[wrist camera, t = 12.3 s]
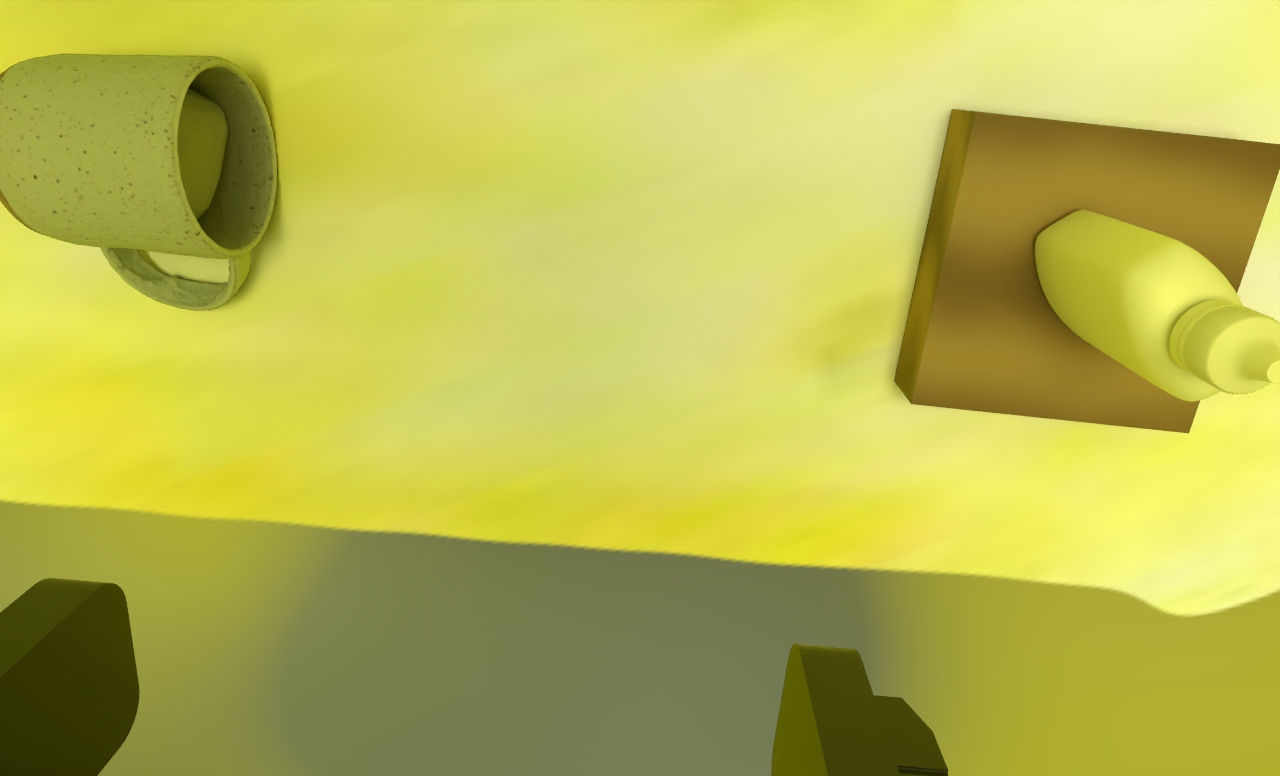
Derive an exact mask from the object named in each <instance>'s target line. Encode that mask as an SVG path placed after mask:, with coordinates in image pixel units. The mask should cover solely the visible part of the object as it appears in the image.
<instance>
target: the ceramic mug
mask: <svg viewBox="0 0 1280 776" xmlns="http://www.w3.org/2000/svg"><path fill="white" fill-rule="evenodd" d="M276 190H277V155H276V148H275V140H274V136H273V129H272V126H271V122H270V118H269V114H268V111H267V109H266V107H265V105H264V103H263V100H262V98H261V96H260V93H259V91H258V89H257V88H256V86H255V84H254V83H253V81H252V80H251V79H250V78H249V77H248V75H247V74H246V73H245V72H244V71H242V70H241V69H240V68H239V67H238V66H236V65H235V64H233V63H232V62H230V61H228V60H226V59H223V58H219V57H213V56H158V55H89V54H57V55H50V56H45V57H37V58H32V59H29V60H25V61H22V62H19V63H17V64H15V65H13V66H11V67H10V68H8V69H7V70H6V71H4V72H3V73H1V74H0V201H1V202H2V204H3V205H4V206H5V207H6V208H7V210H8V211H9V212H10V213H11V214H12V215H13V216H14V217H15V218H16V219H17V220H18V221H20V222H21V223H22V224H24V225H25V226H26V227H27V228H29V229H31V230H33V231H35V232H37V233H40V234H42V235H45V236H48V237H51V238H55V239H58V240H61V241H65V242H69V243H73V244H77V245H86V246H94V247H100V248H101V250H102V252H103V254H104V256H105V257H106V258H107V260H108V261H109V263H110V265H111V266H112V267H113V269H114V270H115V271H116V272H117V273H118V274H119V275H120V276H121V277H122V278H123V280H124V281H125V282H126V283H128V284H129V285H130V286H132V287H133V288H135V289H136V290H138V291H139V292H141V293H142V294H144V295H146V296H148V297H150V298H152V299H153V300H155V301H158V302H161V303H164V304H166V305H170V306H173V307H177V308H182V309H189V310H212V309H216V308H218V307H221V306H223V305H224V304H226V303H227V302H228V301H229V300H230V299H231V298H232V297H233V296H234V295H235V294H236V292H237V291H238V289H239V288H240V286H241V285H242V284H243V283H244V281H245V279H246V277H247V275H248V272H249V269H250V261H251V255H250V251H251V250H252V249H253V248H254V247H255V246H256V245H257V244H258V243H259V242H260V240H261V239H262V237H263V235H264V233H265V231H266V230H267V227H268V224H269V221H270V219H271V216H272V211H273V206H274V203H275V198H276ZM137 250H145V251H153V252H161V253H170V254H179V255H189V256H198V257H205V258H217V259H229V263H230V266H229V272H230V274H229V282H228V283H226V282H225V283H223V284H210V283H202V282H196V281H190V280H184V279H180V278H177V277H175V276H167V275H165V274H163V273H162V272H160V271H158V270H157V269H156V268H154V267H153V266H152V265H151V264H149V263H148V262H147V261H146V260H145V259H144V258H143V257H142V256H141V255H140V254H139V252H138V251H137Z"/></svg>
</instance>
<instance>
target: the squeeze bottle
mask: <svg viewBox="0 0 1280 776" xmlns="http://www.w3.org/2000/svg"><path fill="white" fill-rule="evenodd" d="M1035 261H1036V268H1037V273H1038V277H1039V281H1040V284H1041V287H1042V289H1043V292H1044V294H1045V296H1046V298H1047V300H1048V302H1049V304H1050V305H1051V307H1052V308H1053V310H1054V311H1055V313H1056V314H1057V315H1058V317H1059V318H1060V319H1061V320H1062V321H1063V322H1064V323H1065V324H1066V325H1067V326H1068V327H1069V328H1070V329H1071V330H1072V331H1073V332H1074V333H1075V334H1077V335H1078V336H1079V337H1080V338H1082V339H1083V340H1085V341H1086V342H1088V343H1089V344H1091V345H1092V346H1094V347H1095V348H1097V349H1099V350H1100V351H1102V352H1103V353H1105V354H1106V355H1108V356H1110V357H1111V358H1113V359H1114V360H1116V361H1117V362H1119V363H1120V364H1122V365H1124V366H1125V367H1127V368H1128V369H1130V370H1132V371H1133V372H1135V373H1136V374H1138V375H1139V376H1141V377H1143V378H1144V379H1146V380H1147V381H1149V382H1151V383H1152V384H1154V385H1155V386H1157V387H1159V388H1161V389H1162V390H1164V391H1166V392H1167V393H1169V394H1171V395H1173V396H1174V397H1176V398H1179V399H1181V400H1185V401H1190V402H1194V401H1199V400H1203V399H1206V398H1208V397H1210V396H1213V395H1215V394H1217V393H1219V392H1221V391H1223V392H1227V393H1232V394H1244V393H1245V394H1247V393H1249V392H1250V393H1251V392H1253V391H1257V390H1260V389H1261V388H1264V387H1265V386H1267V385H1268V384H1270V383H1280V323H1279V322H1278V321H1277V320H1275V319H1273V318H1271V317H1268V316H1266V315H1263V314H1261V313H1259V312H1256V311H1254V310H1251V309H1249V308H1246V307H1244V306H1243V305H1242V303H1241V301H1240V299H1239V297H1238V295H1237V293H1236V292H1235V290H1234V288H1233V287H1232V285H1231V284H1230V283H1229V281H1228V280H1227V279H1226V277H1225V276H1224V275H1223V274H1222V273H1221V272H1220V271H1219V270H1218V269H1217V268H1216V267H1215V266H1214V265H1213V264H1212V263H1211V262H1210V261H1209V260H1207V259H1206V258H1205V257H1204V256H1203V255H1201V254H1200V253H1199V252H1197V251H1196V250H1194V249H1193V248H1191V247H1189V246H1187V245H1186V244H1184V243H1182V242H1180V241H1178V240H1175V239H1173V238H1170V237H1167V236H1164V235H1162V234H1159V233H1156V232H1153V231H1150V230H1147V229H1144V228H1141V227H1138V226H1135V225H1132V224H1129V223H1126V222H1123V221H1120V220H1116V219H1113V218H1110V217H1107V216H1104V215H1101V214H1098V213H1095V212H1092V211H1087V210H1083V209H1082V210H1079V211H1075V212H1073V213H1071V214H1069V215H1068V216H1066V217H1064V218H1062V219H1061V220H1059V221H1057V222H1056V223H1054V224H1052V225H1051V226H1049V227H1048V228H1046V229H1045V230H1043V231H1042V232H1041V233H1040V234H1039V235H1038V236H1037V239H1036V242H1035Z"/></svg>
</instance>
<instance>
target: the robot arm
mask: <svg viewBox="0 0 1280 776" xmlns="http://www.w3.org/2000/svg"><path fill="white" fill-rule="evenodd" d="M138 702H139V683H138V676H137V669H136V663H135V656H134V649H133V642H132V635H131V629H130V622H129V615H128V608H127V602H126V598H125V595H124V592H123V591H122V589H121V588H120V587H119V586H118V585H116V584H113V583H102V582H90V581H79V580H67V579H55V578H54V579H53V578H48V579H44V580H42V581H39V582H38V583H36V584H35V585H34V586H32V587H31V588H30V589H29V590H27V591H26V592H25V593H24V594H23V595H21V596H20V597H19V598H18V599H16V600H15V601H14V602H13V603H12V604H10V605H9V606H8V607H7V608H6V609H4V610H3V611H2V612H1V613H0V776H97V775H98V774H99V773H100V771H101V770H102V769H103V768H104V766H105V765H106V764H107V763H108V762H109V760H110V759H111V758H112V757H113V755H114V754H115V753H116V752H117V750H118V749H119V748H120V747H121V745H122V744H123V742H124V741H125V739H126V738H127V736H128V734H129V732H130V730H131V727H132V725H133V723H134V720H135V716H136V713H137V708H138ZM772 776H948V769H947V766H946V764H945V761H944V759H943V756H942V754H941V751H940V749H939V746H938V744H937V742H936V739H935V736H934V734H933V732H932V730H931V729H930V728H929V727H928V726H927V725H926V724H925V723H924V722H923V721H922V720H921V718H920V717H919V716H918V715H917V714H916V713H915V712H914V711H913V710H912V708H911V707H910V706H909V705H908V704H907V703H906V702H905V701H904V700H903V699H902V698H897V697H886V696H874V695H873V693H872V689H871V686H870V684H869V681H868V677H867V674H866V671H865V669H864V665H863V662H862V659H861V657H860V654H859V652H858V651H857V650H856V649H847V648H835V647H824V646H812V645H800V644H794V645H793V646H792V648H791V650H790V654H789V658H788V664H787V669H786V675H785V681H784V687H783V693H782V699H781V704H780V710H779V716H778V722H777V728H776V734H775V740H774V746H773V755H772Z"/></svg>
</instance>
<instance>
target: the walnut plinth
mask: <svg viewBox="0 0 1280 776" xmlns="http://www.w3.org/2000/svg"><path fill="white" fill-rule="evenodd" d="M1279 170H1280V144H1271V143H1262V142H1253V141H1245V140H1236V139H1226V138H1217V137H1208V136H1198V135H1189V134H1180V133H1170V132H1161V131H1152V130H1142V129H1133V128H1124V127H1114V126H1105V125H1096V124H1086V123H1077V122H1068V121H1058V120H1049V119H1039V118H1030V117H1021V116H1011V115H1002V114H993V113H983V112H974V111H965V110H955V109H952V112H951V117H950V122H949V126H948V131H947V136H946V140H945V145H944V150H943V155H942V159H941V164H940V169H939V173H938V178H937V183H936V187H935V192H934V197H933V201H932V206H931V211H930V216H929V220H928V225H927V230H926V234H925V239H924V244H923V248H922V253H921V258H920V262H919V267H918V272H917V277H916V281H915V286H914V291H913V295H912V300H911V305H910V309H909V314H908V319H907V323H906V328H905V333H904V338H903V342H902V347H901V352H900V356H899V361H898V366H897V370H896V375H895V380H894V381H895V382H896V384H897V385H898V387H899V388H900V389H901V391H902V392H903V393H904V395H905V396H906V397H907V399H908V400H909V401H910V403H911V404H917V405H926V406H936V407H945V408H955V409H964V410H973V411H983V412H992V413H1002V414H1011V415H1021V416H1030V417H1040V418H1049V419H1059V420H1068V421H1078V422H1087V423H1097V424H1106V425H1116V426H1125V427H1135V428H1144V429H1154V430H1163V431H1173V432H1182V433H1189V431H1190V428H1191V425H1192V423H1193V420H1194V417H1195V414H1196V411H1197V408H1198V405H1199V402H1200V400H1199V401H1194V402H1190V401H1185V400H1181V399H1179V398H1176V397H1174V396H1173V395H1171V394H1169V393H1167V392H1166V391H1164V390H1162V389H1161V388H1159V387H1157V386H1155V385H1154V384H1152V383H1151V382H1149V381H1147V380H1146V379H1144V378H1143V377H1141V376H1139V375H1138V374H1136V373H1135V372H1133V371H1132V370H1130V369H1128V368H1127V367H1125V366H1124V365H1122V364H1120V363H1119V362H1117V361H1116V360H1114V359H1113V358H1111V357H1110V356H1108V355H1106V354H1105V353H1103V352H1102V351H1100V350H1099V349H1097V348H1095V347H1094V346H1092V345H1091V344H1089V343H1088V342H1086V341H1085V340H1083V339H1082V338H1080V337H1079V336H1078V335H1077V334H1075V333H1074V332H1073V331H1072V330H1071V329H1070V328H1069V327H1068V326H1067V325H1066V324H1065V323H1064V322H1063V321H1062V320H1061V319H1060V318H1059V317H1058V315H1057V314H1056V313H1055V311H1054V310H1053V308H1052V307H1051V305H1050V304H1049V302H1048V300H1047V298H1046V296H1045V294H1044V292H1043V289H1042V287H1041V284H1040V281H1039V277H1038V273H1037V268H1036V261H1035V242H1036V239H1037V236H1038V235H1039V234H1040V233H1041V232H1042V231H1043V230H1045V229H1046V228H1048V227H1049V226H1051V225H1052V224H1054V223H1056V222H1057V221H1059V220H1061V219H1062V218H1064V217H1066V216H1068V215H1069V214H1071V213H1073V212H1075V211H1079V210H1082V209H1083V210H1087V211H1092V212H1095V213H1098V214H1101V215H1104V216H1107V217H1110V218H1113V219H1116V220H1120V221H1123V222H1126V223H1129V224H1132V225H1135V226H1138V227H1141V228H1144V229H1147V230H1150V231H1153V232H1156V233H1159V234H1162V235H1164V236H1167V237H1170V238H1173V239H1175V240H1178V241H1180V242H1182V243H1184V244H1186V245H1187V246H1189V247H1191V248H1193V249H1194V250H1196V251H1197V252H1199V253H1200V254H1201V255H1203V256H1204V257H1205V258H1206V259H1207V260H1209V261H1210V262H1211V263H1212V264H1213V265H1214V266H1215V267H1216V268H1217V269H1218V270H1219V271H1220V272H1221V273H1222V274H1223V275H1224V276H1225V277H1226V279H1227V280H1228V281H1229V283H1230V284H1231V285H1232V287H1233V288H1234V290H1235V292H1236V293H1237V292H1238V289H1239V286H1240V283H1241V280H1242V277H1243V274H1244V271H1245V268H1246V266H1247V263H1248V260H1249V257H1250V254H1251V251H1252V248H1253V245H1254V242H1255V239H1256V236H1257V234H1258V231H1259V228H1260V225H1261V222H1262V219H1263V216H1264V213H1265V210H1266V207H1267V204H1268V202H1269V199H1270V196H1271V193H1272V190H1273V187H1274V184H1275V181H1276V178H1277V175H1278V172H1279Z"/></svg>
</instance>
